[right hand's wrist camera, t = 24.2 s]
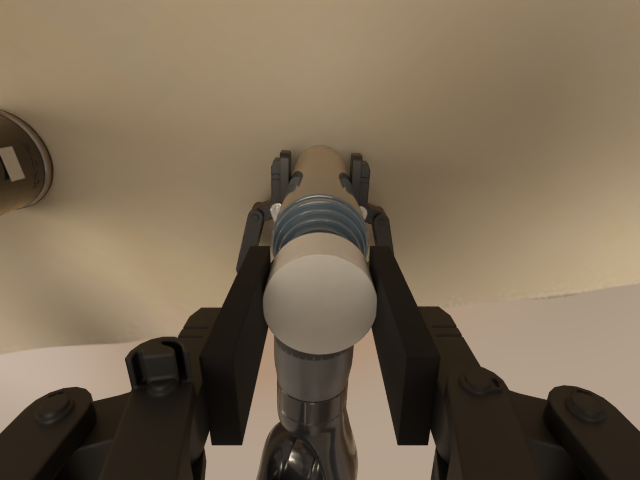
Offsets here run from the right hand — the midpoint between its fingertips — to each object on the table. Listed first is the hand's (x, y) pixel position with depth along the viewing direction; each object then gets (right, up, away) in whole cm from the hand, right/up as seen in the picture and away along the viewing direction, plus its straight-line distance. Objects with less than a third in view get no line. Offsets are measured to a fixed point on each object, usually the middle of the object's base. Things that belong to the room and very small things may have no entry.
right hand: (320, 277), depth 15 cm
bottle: (0, +8, +21) cm, 23 cm away
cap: (0, -1, -2) cm, 2 cm away
